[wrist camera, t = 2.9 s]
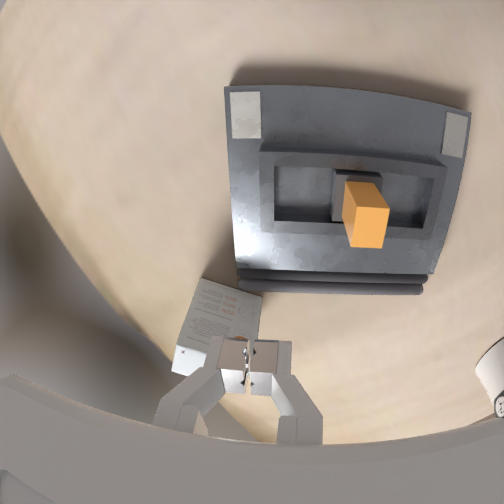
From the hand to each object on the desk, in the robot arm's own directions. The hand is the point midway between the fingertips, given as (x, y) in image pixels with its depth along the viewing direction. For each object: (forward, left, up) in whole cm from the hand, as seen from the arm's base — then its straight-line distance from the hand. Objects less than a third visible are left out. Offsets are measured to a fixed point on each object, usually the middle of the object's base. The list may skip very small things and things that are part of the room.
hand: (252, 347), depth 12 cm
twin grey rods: (-7, +11, -19) cm, 23 cm away
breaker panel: (-7, 0, -19) cm, 20 cm away
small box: (+6, +16, -19) cm, 26 cm away
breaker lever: (-7, 0, -17) cm, 18 cm away
